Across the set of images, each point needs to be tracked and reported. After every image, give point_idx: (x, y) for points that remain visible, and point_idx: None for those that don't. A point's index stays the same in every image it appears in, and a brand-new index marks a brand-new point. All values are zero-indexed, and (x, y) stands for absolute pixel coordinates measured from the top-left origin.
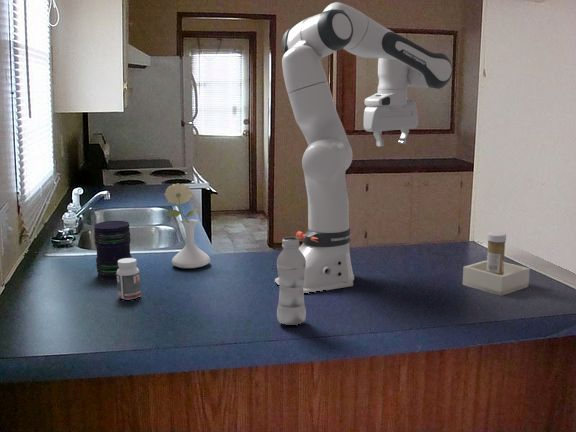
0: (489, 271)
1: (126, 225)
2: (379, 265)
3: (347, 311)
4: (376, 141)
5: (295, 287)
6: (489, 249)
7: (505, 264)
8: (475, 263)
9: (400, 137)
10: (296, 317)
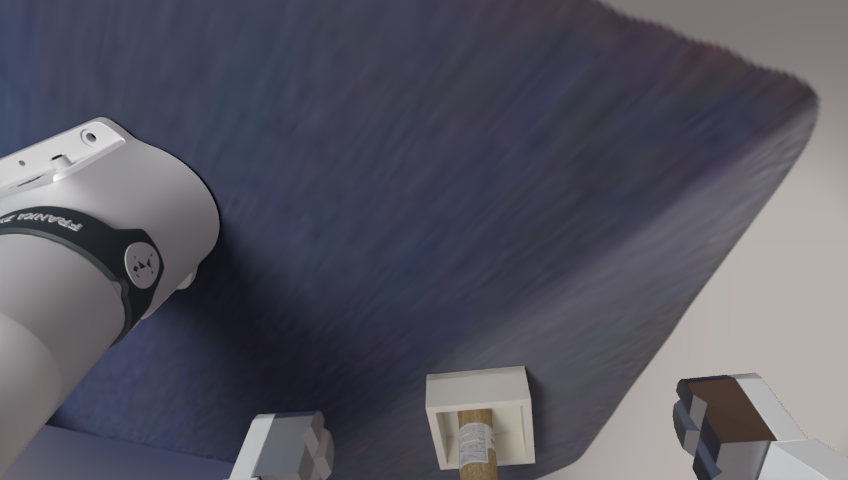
0: (458, 434)
1: None
2: (341, 178)
3: (132, 378)
4: (237, 460)
5: None
6: (460, 478)
7: (524, 427)
8: (468, 404)
9: (775, 447)
10: None
